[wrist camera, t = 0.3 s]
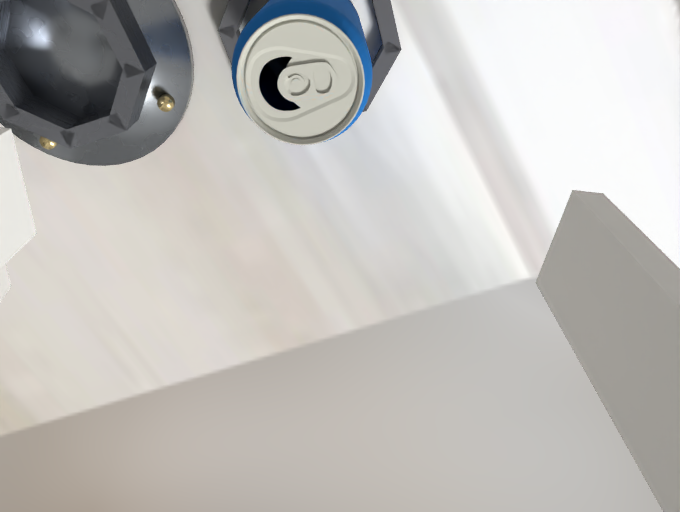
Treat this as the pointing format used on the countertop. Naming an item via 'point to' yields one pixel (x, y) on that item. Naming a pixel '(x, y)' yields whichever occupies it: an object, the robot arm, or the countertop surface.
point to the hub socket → (94, 76)
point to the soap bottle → (4, 282)
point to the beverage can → (303, 69)
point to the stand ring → (380, 64)
